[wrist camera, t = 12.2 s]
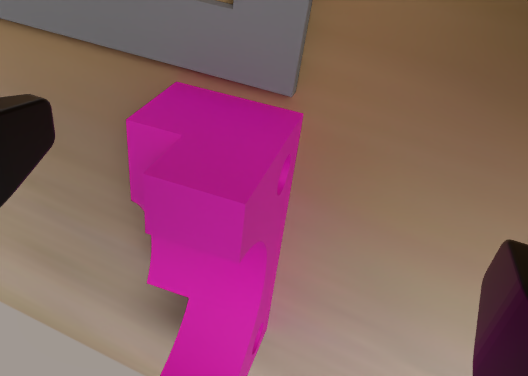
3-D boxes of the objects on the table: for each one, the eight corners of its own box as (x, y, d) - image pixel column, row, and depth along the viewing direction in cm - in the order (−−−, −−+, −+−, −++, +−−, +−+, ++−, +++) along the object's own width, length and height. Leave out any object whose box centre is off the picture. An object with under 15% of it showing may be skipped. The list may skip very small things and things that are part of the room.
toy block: (178, 80, 23) (79, 154, 17) (304, 112, 22) (245, 204, 16) (176, 296, 32) (111, 395, 26) (267, 327, 30) (220, 439, 24)
